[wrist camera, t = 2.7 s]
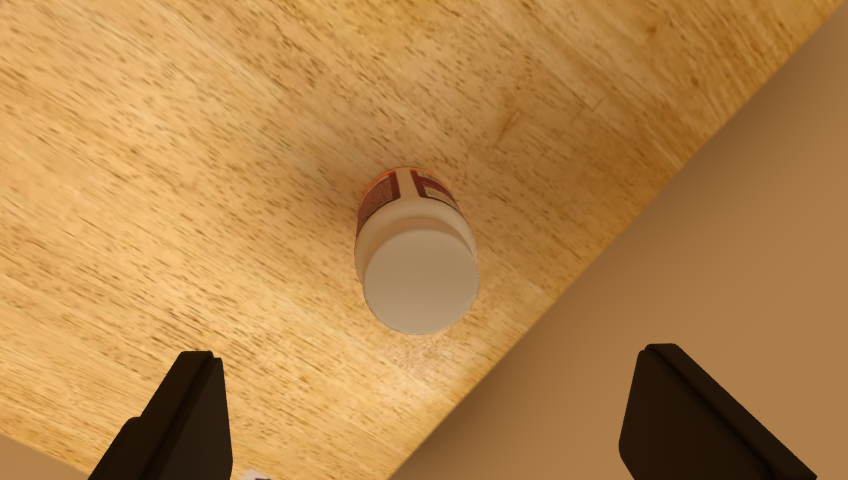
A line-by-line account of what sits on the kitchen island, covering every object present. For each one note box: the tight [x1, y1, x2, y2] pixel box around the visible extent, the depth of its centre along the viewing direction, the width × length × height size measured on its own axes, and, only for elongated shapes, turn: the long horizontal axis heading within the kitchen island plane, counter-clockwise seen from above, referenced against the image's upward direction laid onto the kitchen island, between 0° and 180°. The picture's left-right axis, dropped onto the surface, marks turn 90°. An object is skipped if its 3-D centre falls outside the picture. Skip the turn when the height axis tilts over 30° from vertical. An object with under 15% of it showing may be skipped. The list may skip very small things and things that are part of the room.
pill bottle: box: [354, 167, 479, 335], centre depth 21 cm, size 5×5×8 cm
